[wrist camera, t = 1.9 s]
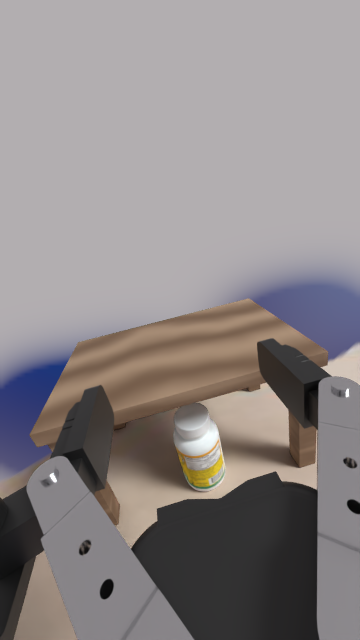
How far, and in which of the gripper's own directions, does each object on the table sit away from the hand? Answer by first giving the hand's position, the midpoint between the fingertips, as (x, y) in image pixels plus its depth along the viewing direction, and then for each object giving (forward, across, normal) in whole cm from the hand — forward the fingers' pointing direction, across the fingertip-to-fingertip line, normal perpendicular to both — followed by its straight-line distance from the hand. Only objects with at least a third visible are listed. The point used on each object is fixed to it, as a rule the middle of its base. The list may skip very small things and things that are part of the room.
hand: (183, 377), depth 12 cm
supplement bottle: (+10, 0, +23) cm, 25 cm away
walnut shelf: (+15, 0, +22) cm, 27 cm away
